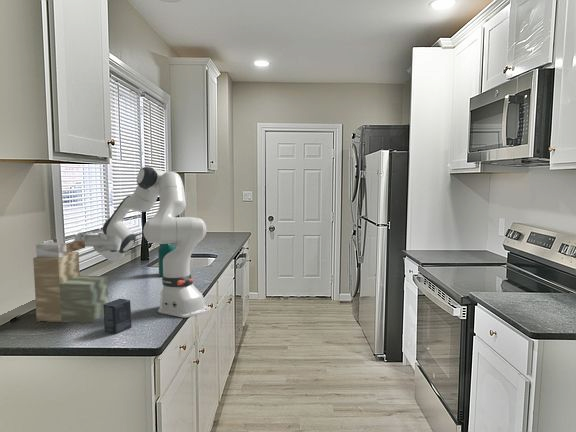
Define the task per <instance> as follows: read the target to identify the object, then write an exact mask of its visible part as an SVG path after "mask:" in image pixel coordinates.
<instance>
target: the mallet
mask: <svg viewBox="0 0 576 432" xmlns="http://www.w3.org/2000/svg"><path fill="white" fill-rule="evenodd" d="M35 247H36V248H35V250H36V252H35V253H36V257H43V258H60V257H63V256H66V255H67V253H70V252H77V251H79V250H82V249H85V248H86V246H85V241H74V240H73V241H71V242H67V243H66V242H41V243H37V244H35Z"/></svg>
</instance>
